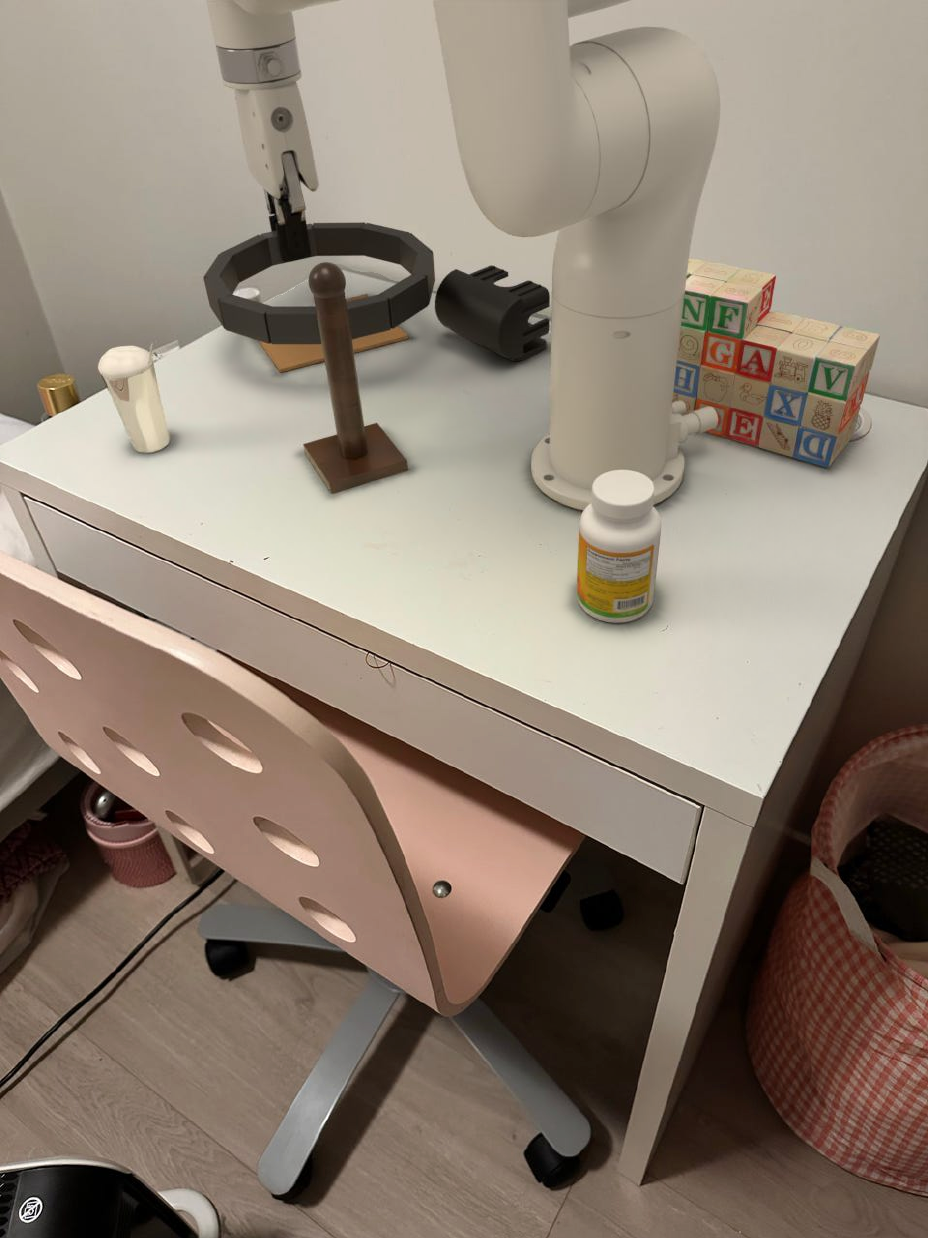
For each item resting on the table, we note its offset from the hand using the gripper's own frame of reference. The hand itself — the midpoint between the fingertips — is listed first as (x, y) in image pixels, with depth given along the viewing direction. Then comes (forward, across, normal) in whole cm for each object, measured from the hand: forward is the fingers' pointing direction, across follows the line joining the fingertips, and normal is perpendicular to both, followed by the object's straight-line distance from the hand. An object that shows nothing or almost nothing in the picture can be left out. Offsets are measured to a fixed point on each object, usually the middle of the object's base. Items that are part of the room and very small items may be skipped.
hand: (293, 253), depth 101 cm
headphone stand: (+6, -33, +6) cm, 34 cm away
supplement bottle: (+6, -59, -4) cm, 59 cm away
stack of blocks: (+6, -43, -25) cm, 50 cm away
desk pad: (+6, -8, 0) cm, 10 cm away
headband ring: (+1, -10, 0) cm, 10 cm away
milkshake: (+6, -21, +21) cm, 30 cm away
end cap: (+6, -20, -14) cm, 25 cm away
